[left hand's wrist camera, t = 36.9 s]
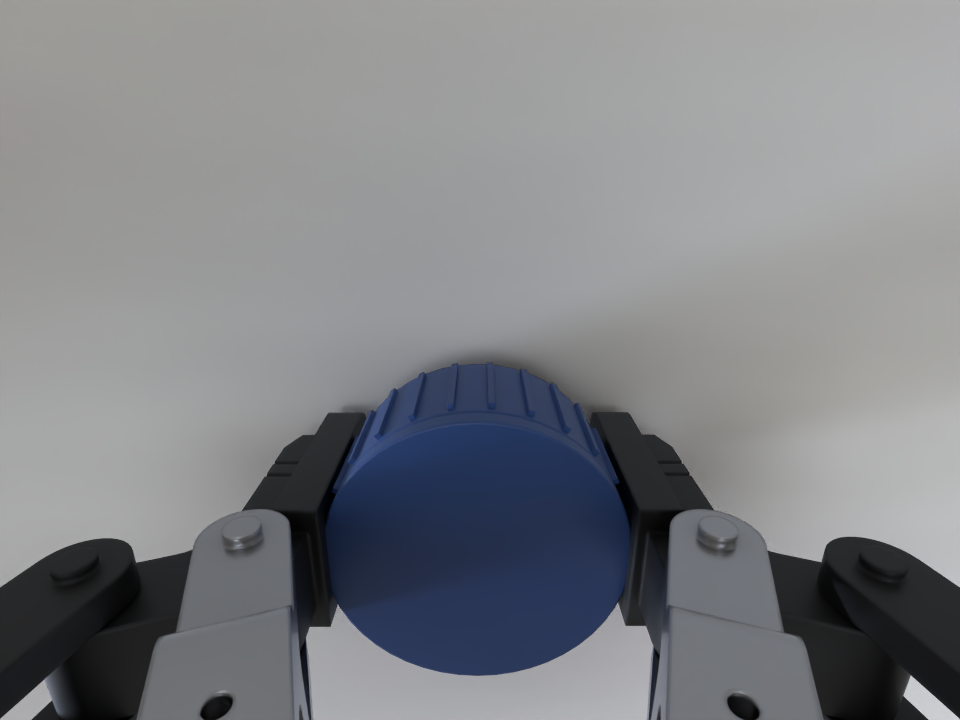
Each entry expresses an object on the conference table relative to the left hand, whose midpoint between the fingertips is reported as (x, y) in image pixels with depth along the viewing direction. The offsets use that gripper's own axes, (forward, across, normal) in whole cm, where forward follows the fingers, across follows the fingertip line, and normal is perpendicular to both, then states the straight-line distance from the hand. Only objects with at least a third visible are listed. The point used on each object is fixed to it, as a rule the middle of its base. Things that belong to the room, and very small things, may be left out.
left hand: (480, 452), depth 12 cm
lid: (-3, 0, 0) cm, 3 cm away
